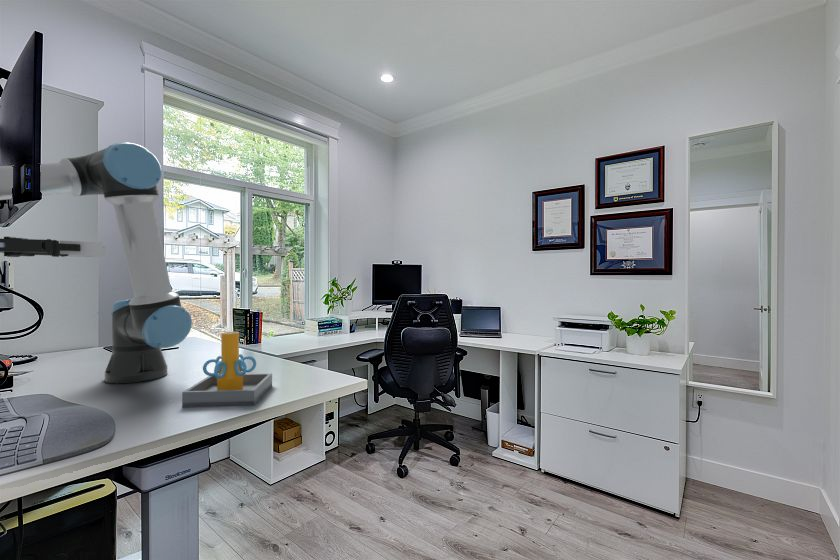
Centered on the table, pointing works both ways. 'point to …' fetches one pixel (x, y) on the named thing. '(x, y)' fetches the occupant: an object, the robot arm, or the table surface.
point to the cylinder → (229, 364)
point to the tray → (227, 392)
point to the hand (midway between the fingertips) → (103, 250)
